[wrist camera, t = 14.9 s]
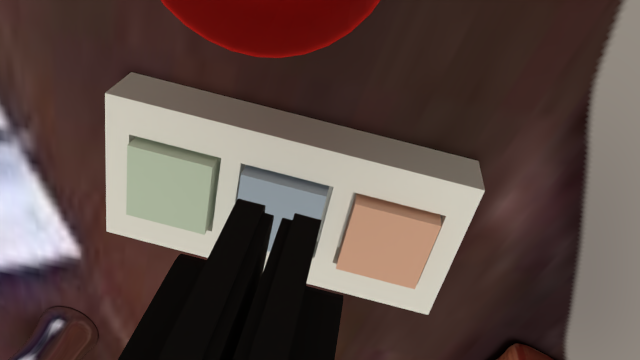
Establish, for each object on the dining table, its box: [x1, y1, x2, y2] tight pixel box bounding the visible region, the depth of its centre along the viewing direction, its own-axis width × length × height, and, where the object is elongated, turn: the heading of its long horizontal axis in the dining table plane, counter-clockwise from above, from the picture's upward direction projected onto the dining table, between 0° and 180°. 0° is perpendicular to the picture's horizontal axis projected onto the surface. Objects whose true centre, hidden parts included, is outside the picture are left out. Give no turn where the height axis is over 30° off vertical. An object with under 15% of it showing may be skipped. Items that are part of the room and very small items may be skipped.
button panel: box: [105, 72, 485, 315], centre depth 41 cm, size 12×26×4 cm, turn 78°
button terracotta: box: [336, 193, 441, 289], centre depth 39 cm, size 6×6×2 cm
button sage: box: [126, 136, 221, 235], centre depth 39 cm, size 6×6×2 cm
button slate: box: [237, 165, 329, 252], centre depth 39 cm, size 6×6×2 cm
